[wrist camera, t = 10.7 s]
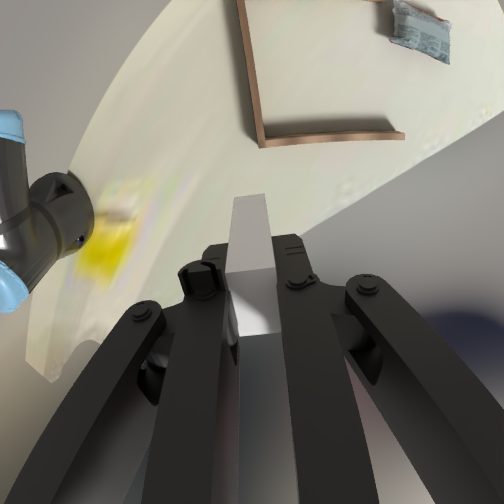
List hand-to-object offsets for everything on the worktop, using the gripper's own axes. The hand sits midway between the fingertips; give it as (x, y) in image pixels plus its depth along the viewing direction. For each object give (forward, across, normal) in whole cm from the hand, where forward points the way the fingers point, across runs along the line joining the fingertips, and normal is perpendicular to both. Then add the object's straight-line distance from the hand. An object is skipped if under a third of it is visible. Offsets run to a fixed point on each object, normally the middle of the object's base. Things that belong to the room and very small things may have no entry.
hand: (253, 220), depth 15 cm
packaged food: (+31, +32, +18) cm, 48 cm away
